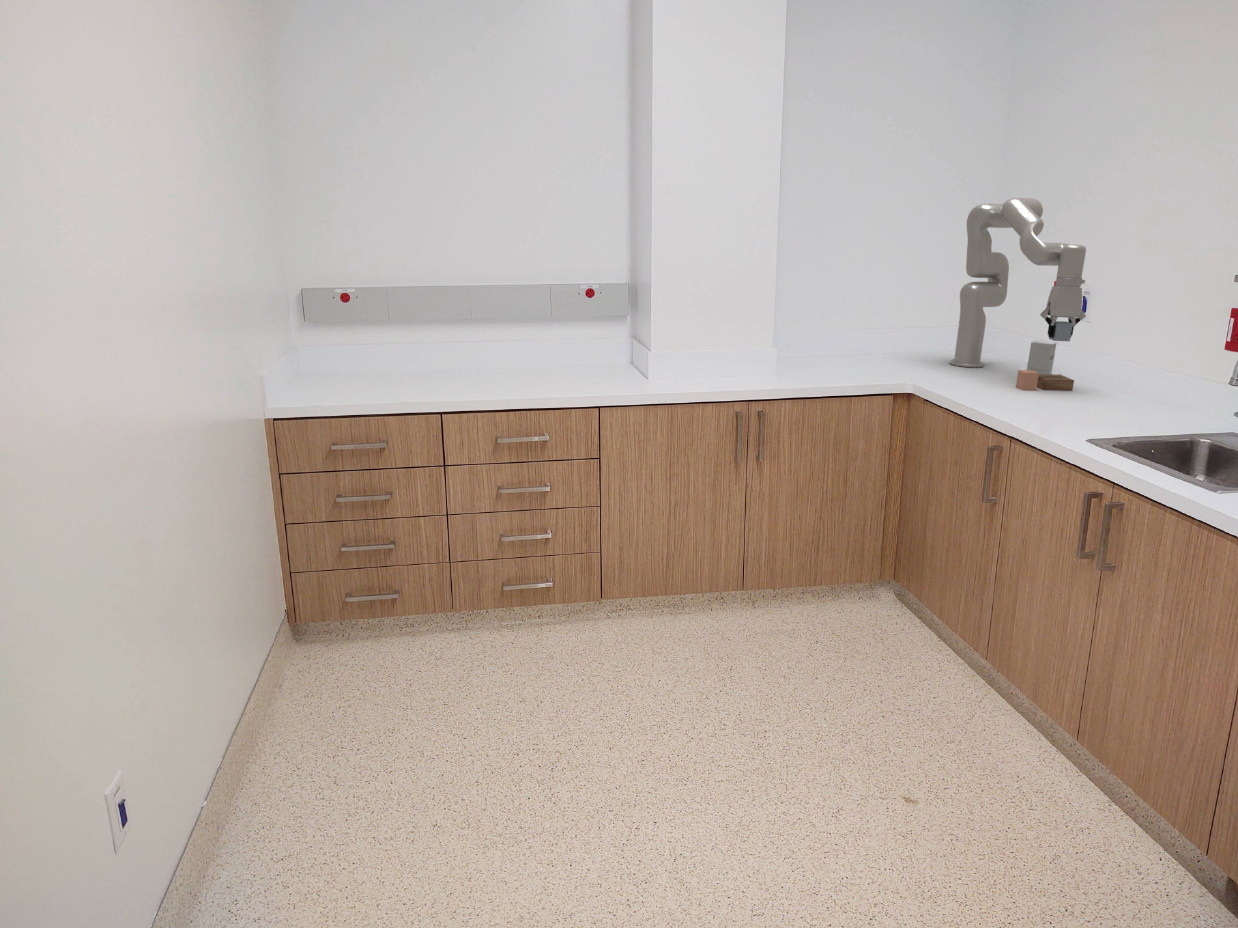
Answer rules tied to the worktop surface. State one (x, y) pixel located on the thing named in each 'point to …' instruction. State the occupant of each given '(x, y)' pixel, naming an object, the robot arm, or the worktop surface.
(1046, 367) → the supplement box
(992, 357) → the worktop surface
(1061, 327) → the grey block
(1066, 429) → the worktop surface
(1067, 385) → the walnut base
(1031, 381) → the terracotta block
